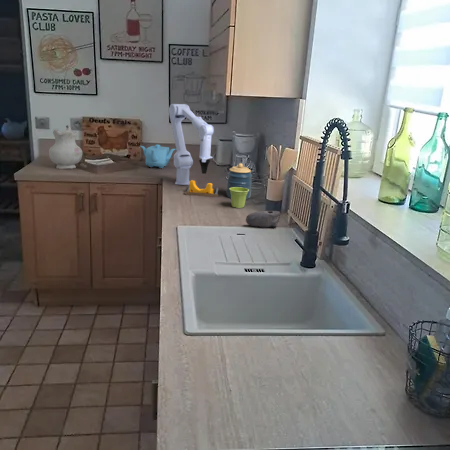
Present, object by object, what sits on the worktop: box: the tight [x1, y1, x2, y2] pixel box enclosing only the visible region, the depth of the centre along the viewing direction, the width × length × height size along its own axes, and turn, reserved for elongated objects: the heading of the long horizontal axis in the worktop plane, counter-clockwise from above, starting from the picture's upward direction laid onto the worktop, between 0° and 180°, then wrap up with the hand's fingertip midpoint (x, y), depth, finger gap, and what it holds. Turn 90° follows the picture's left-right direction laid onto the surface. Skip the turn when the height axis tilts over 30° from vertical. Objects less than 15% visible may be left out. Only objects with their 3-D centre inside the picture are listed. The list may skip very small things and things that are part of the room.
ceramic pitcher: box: [48, 124, 83, 170], centre depth 285 cm, size 22×20×25 cm
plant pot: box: [229, 187, 249, 209], centre depth 224 cm, size 9×9×9 cm
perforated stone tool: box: [245, 210, 282, 228], centre depth 197 cm, size 15×5×7 cm, turn 94°
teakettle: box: [139, 144, 177, 169], centre depth 304 cm, size 19×19×15 cm
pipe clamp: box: [188, 179, 214, 194], centre depth 245 cm, size 12×4×6 cm, turn 67°
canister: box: [225, 162, 253, 200], centre depth 242 cm, size 13×13×18 cm
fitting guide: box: [184, 186, 219, 198], centre depth 248 cm, size 16×17×2 cm
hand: (204, 173), depth 250 cm, fingers closed
